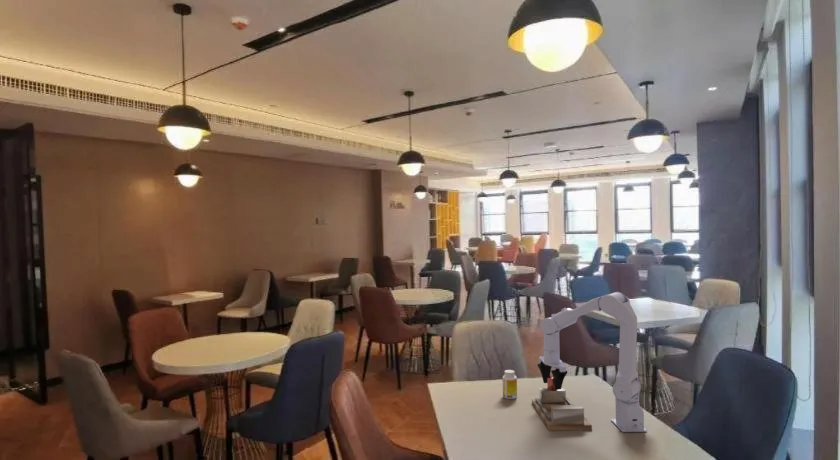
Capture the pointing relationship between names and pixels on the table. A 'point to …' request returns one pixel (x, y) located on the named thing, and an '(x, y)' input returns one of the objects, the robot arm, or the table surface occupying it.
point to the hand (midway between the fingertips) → (552, 385)
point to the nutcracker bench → (559, 426)
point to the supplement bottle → (509, 384)
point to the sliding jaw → (552, 393)
